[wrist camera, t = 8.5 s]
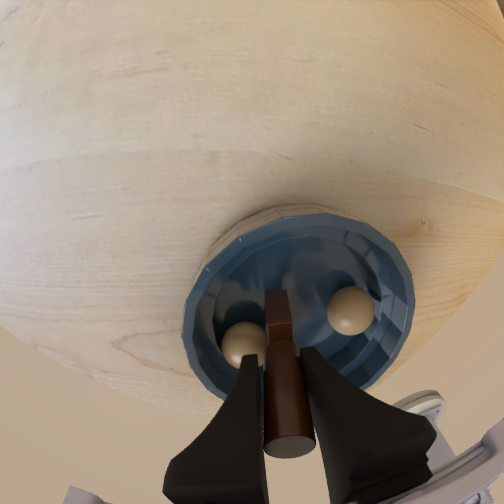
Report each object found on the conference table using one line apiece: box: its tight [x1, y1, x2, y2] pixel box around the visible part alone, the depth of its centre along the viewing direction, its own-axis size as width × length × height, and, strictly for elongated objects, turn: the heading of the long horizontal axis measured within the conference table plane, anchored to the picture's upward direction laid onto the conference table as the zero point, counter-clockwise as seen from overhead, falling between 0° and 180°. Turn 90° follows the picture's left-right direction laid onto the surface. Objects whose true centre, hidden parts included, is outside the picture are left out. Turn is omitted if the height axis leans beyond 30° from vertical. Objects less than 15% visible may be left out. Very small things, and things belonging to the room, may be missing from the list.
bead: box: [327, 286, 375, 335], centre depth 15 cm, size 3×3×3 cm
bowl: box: [181, 204, 415, 401], centre depth 16 cm, size 13×13×4 cm
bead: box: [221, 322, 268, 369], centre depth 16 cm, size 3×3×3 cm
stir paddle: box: [263, 289, 316, 459], centre depth 12 cm, size 4×2×9 cm, turn 7°
